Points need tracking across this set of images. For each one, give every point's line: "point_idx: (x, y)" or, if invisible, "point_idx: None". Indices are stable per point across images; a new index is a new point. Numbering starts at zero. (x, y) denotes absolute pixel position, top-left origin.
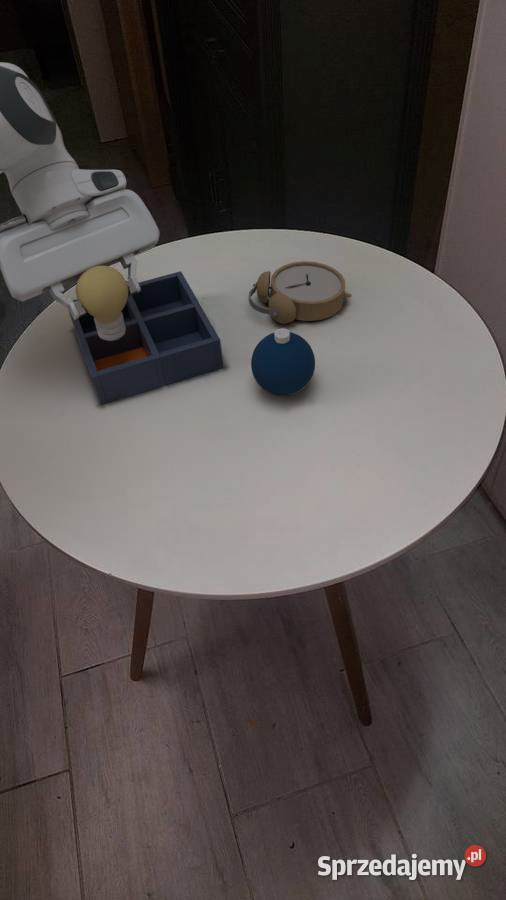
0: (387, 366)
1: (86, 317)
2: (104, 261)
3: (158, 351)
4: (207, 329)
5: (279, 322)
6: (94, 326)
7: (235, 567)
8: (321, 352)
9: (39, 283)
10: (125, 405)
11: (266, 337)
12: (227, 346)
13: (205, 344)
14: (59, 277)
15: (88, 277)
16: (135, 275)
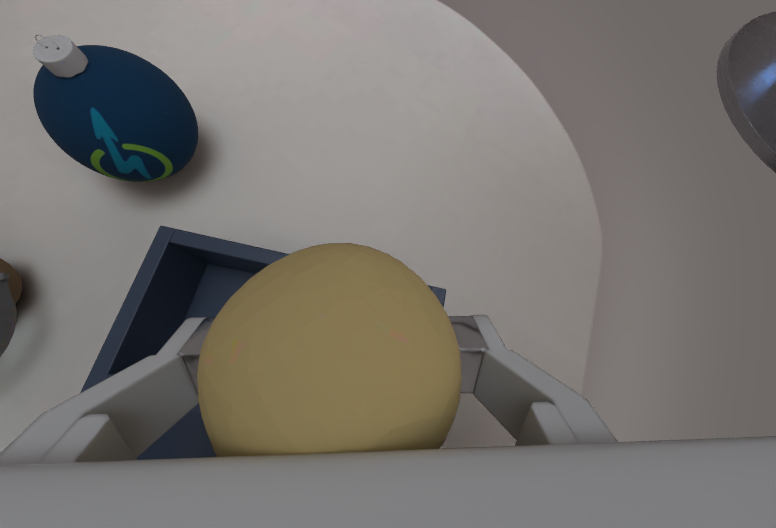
0: (11, 98)
1: None
2: (211, 459)
3: None
4: (154, 270)
5: (21, 283)
6: None
7: (406, 4)
8: (50, 181)
9: (741, 459)
10: None
11: (88, 106)
12: None
13: (195, 233)
14: (584, 453)
15: (396, 351)
16: (146, 359)
